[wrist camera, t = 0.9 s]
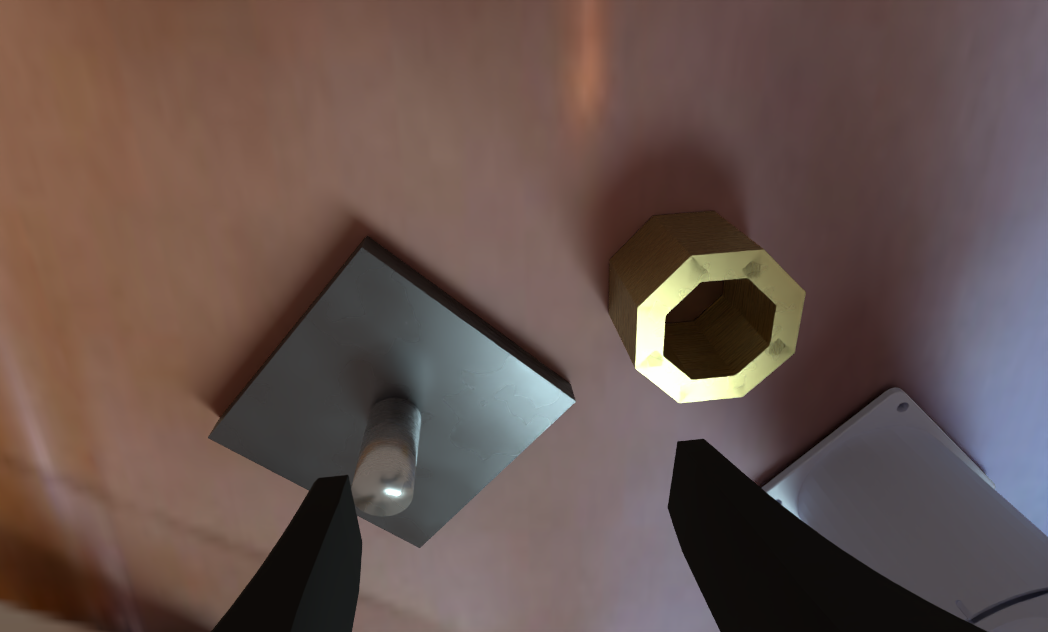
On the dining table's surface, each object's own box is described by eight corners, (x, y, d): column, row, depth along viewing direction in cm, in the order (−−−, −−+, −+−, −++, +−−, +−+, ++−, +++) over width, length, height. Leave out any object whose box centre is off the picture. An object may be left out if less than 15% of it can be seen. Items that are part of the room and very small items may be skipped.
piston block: (570, 384, 24) (596, 471, 19) (421, 527, 27) (412, 632, 22) (367, 235, 20) (339, 298, 16) (219, 418, 23) (159, 517, 19)
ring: (775, 272, 23) (833, 320, 19) (672, 365, 24) (708, 426, 21) (685, 182, 21) (731, 216, 17) (579, 290, 22) (601, 341, 19)
